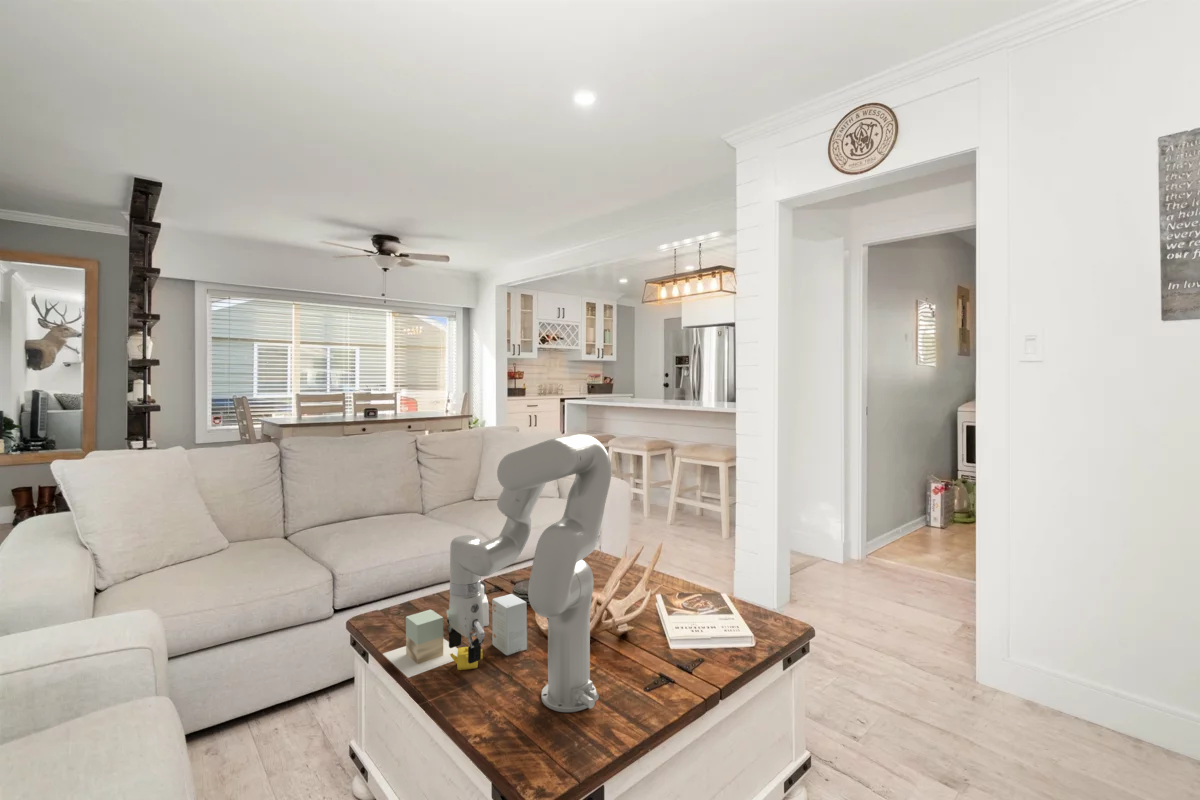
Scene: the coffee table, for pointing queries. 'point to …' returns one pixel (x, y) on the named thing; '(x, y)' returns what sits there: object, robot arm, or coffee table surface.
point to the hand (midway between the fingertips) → (464, 653)
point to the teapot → (464, 659)
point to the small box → (509, 624)
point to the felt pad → (413, 668)
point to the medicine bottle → (484, 604)
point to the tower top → (424, 626)
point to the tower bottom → (424, 650)
